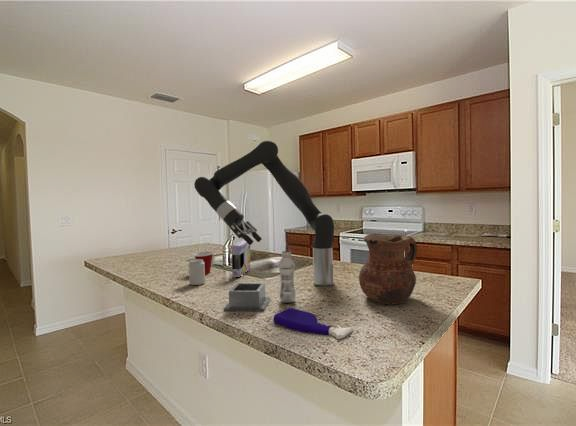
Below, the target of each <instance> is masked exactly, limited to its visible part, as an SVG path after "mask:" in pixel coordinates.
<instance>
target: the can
mask: <svg viewBox="0 0 576 426" xmlns="http://www.w3.org/2000/svg"><path fill="white" fill-rule="evenodd" d="M188 274H189V279H188V280H189V285H191V286H193V285H198V286H202V285H204V283H206V275H205V263H204V262H203V260H202V259H196V258H195V259H190V260H189V263H188ZM201 284H202V285H201Z"/></svg>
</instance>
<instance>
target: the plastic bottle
mask: <svg viewBox="0 0 576 426" xmlns="http://www.w3.org/2000/svg"><path fill="white" fill-rule="evenodd" d="M291 257H292V251H291V250H282V251H281V259H280V261H279V262H278V270H279V271H278V272H279V278H280V288H279V289H280V290H279V300H280V301H281V302H282V303H285V304H287V303H288V304H290V303H293V302H295V300H296V297H297V294H296V293H297V292H296V289H295V282H294V281H295V266H296V264H295V262H294V260H293V259H292V258H291Z"/></svg>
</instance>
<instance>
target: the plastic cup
mask: <svg viewBox="0 0 576 426" xmlns="http://www.w3.org/2000/svg"><path fill="white" fill-rule="evenodd" d="M213 254H214V251H212V250H205V251H199V252H195V253H194V254H193V256H194V258H195V259H202V260H203V262H204V263H205V274H206V275H209V274H211V268H212V259H213ZM208 273H209V274H208Z"/></svg>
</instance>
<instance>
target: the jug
mask: <svg viewBox="0 0 576 426" xmlns="http://www.w3.org/2000/svg"><path fill="white" fill-rule="evenodd" d="M363 240H364V242H365V244H366V246H367V248H368V255H369V256H368V260H367V261H366V262H365V263H364V264H363V265H362V266H361V268H360V271H359V274H358V275H359V276H358V281H359V285H360V289H361V291H362V292H363V294H364V295H365V297H367V298H368V299H370V300H371V301H373V302H374V303H377V304H380V305H381V304H382V305H397V304H402V303H404V302H406V301H407V300H408V299H409V298H410V297H411V295H413V291H414V289H415V287H416V283H417V278H416V276H417V275H416V274H415V272H414V270H413V266H412V265H413V264H414V262H415V259H416V257H417V255H418V245H417V242H416V240H415V239H414V238H413V237H412V236H409V235H406V234H401V235H399V234H389V235H388V234H383V233H381V234H380V233H371V234H368V235H367V234H366V235H365V236H364V237H363ZM408 245H409V252H408V255H406V257H405V251H406V249H407V247H408Z"/></svg>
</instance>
